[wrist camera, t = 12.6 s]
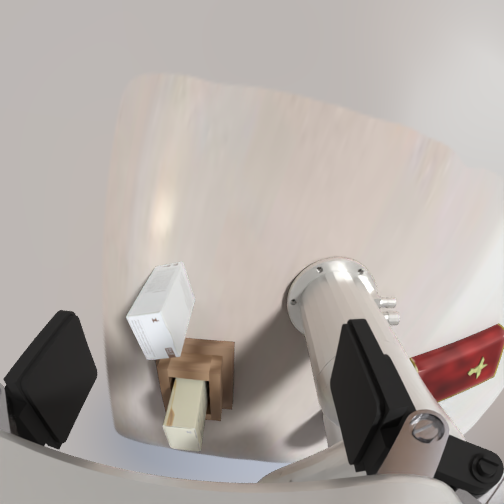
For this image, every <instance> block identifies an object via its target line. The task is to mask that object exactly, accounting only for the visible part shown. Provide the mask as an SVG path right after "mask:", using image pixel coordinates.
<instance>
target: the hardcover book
mask: <svg viewBox="0 0 504 504" xmlns="http://www.w3.org/2000/svg"><path fill="white" fill-rule="evenodd" d="M503 349H504V327H503V326H502V325H500V324H496V325H494V326H492V327H490V328H488V329H485V330H483V331H481V332H478V333H476V334H474V335H471V336H469V337H466V338H464V339H461V340H459V341H456V342H454V343H451V344H449V345H446V346H443V347H440V348H438V349H435V350H432V351H429V352H426V353H424V354H421V355H418V356H415V357H412V358H409V359H410V361H411V362H412V364H413V366H414V368H415V369H416V371H417V372H418V374H419V376H420V377H421V379H422V381H423V382H424V384H425V385H426V387H427V388H428V390H429V391H430V393H431V394H432V395H433V397H434V398H435V400H436V401H437V402H440V401H442V400H445V399H447V398H450V397H452V396H454V395H457V394H459V393H461V392H464V391H466V390H468V389H470V388H472V387H474V386H477V385H479V384H481V383H483V382H485V381H487V380H489V379H491V378H493V377H494V376H495V373H496V371H497V368H498V365H499V362H500V359H501V355H502V352H503Z"/></svg>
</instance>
